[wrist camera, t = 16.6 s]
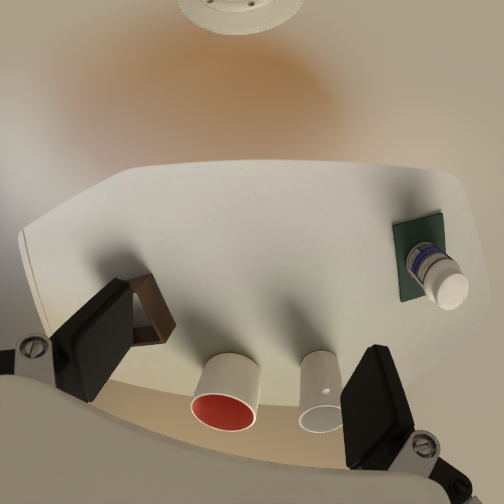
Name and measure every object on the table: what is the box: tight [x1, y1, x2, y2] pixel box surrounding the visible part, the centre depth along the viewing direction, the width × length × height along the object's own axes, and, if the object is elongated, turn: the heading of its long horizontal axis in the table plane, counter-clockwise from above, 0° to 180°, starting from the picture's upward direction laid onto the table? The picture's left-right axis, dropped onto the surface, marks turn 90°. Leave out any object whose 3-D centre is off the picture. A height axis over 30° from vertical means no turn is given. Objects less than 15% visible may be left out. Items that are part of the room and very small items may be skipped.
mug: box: [299, 351, 343, 433], centre depth 39 cm, size 10×7×12 cm, turn 4°
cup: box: [191, 353, 262, 431], centre depth 43 cm, size 10×10×10 cm
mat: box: [392, 213, 446, 302], centre depth 37 cm, size 12×8×1 cm, turn 18°
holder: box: [125, 274, 176, 347], centre depth 43 cm, size 10×10×5 cm
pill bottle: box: [406, 242, 469, 310], centre depth 32 cm, size 6×6×10 cm
